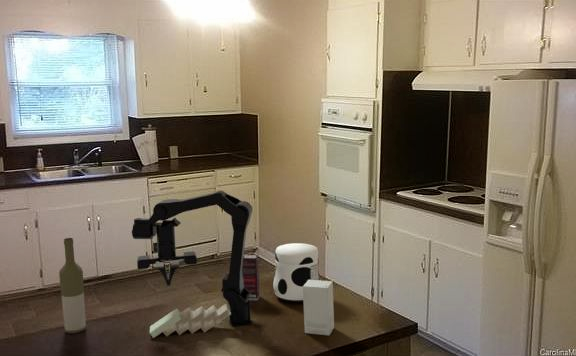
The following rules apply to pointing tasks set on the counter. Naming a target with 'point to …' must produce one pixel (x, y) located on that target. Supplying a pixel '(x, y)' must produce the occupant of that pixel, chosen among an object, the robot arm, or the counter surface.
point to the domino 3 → (193, 320)
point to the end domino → (222, 312)
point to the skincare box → (318, 307)
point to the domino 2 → (180, 321)
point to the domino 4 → (210, 314)
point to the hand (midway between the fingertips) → (168, 285)
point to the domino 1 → (165, 323)
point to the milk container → (294, 270)
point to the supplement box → (251, 275)
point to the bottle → (72, 291)
